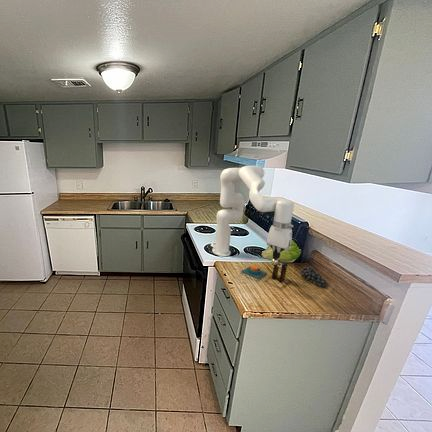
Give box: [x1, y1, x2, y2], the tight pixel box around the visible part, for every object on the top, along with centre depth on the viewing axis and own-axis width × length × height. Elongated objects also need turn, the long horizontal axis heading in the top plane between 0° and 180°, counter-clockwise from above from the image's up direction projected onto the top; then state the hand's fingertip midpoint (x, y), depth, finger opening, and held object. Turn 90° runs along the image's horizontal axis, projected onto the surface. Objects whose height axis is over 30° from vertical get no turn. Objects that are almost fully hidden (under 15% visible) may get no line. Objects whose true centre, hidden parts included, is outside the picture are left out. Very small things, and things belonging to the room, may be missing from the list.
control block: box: [240, 265, 267, 280], centre depth 141 cm, size 10×10×4 cm
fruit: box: [299, 265, 329, 289], centre depth 132 cm, size 9×8×15 cm
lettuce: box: [261, 240, 302, 263], centre depth 160 cm, size 15×25×16 cm
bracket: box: [271, 260, 289, 284], centre depth 133 cm, size 12×9×12 cm
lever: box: [270, 259, 284, 269], centre depth 128 cm, size 13×3×3 cm
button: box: [250, 264, 259, 271], centre depth 140 cm, size 4×4×2 cm
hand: (275, 258), depth 124 cm, fingers closed
